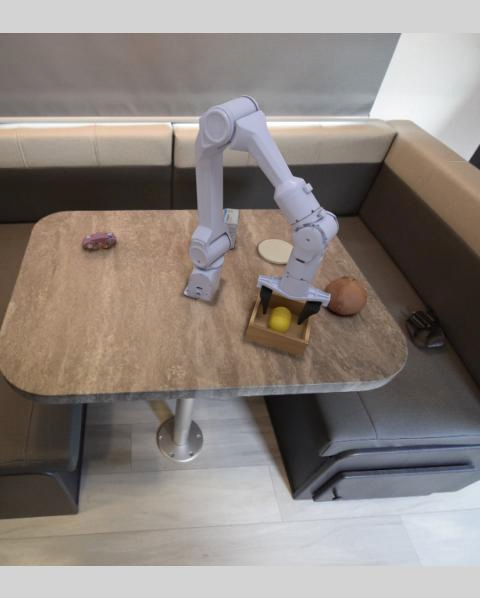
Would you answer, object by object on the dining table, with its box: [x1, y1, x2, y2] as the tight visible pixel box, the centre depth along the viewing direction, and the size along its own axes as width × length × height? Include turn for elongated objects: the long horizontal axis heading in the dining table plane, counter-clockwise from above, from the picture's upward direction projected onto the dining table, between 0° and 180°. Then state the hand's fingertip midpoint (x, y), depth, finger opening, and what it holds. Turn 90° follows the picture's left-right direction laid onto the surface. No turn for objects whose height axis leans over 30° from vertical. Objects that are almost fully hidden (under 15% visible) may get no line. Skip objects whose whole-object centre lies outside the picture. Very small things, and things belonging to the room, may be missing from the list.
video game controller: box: [81, 231, 117, 251], centre depth 100 cm, size 10×5×7 cm, turn 105°
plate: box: [257, 238, 294, 265], centre depth 102 cm, size 11×11×1 cm
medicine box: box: [223, 207, 240, 250], centre depth 103 cm, size 8×4×9 cm, turn 168°
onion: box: [323, 274, 368, 317], centre depth 84 cm, size 10×9×10 cm
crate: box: [244, 288, 314, 357], centre depth 80 cm, size 13×13×5 cm
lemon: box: [268, 307, 291, 333], centre depth 80 cm, size 7×5×5 cm, turn 157°
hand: (281, 316), depth 79 cm, fingers open, 7 cm apart
